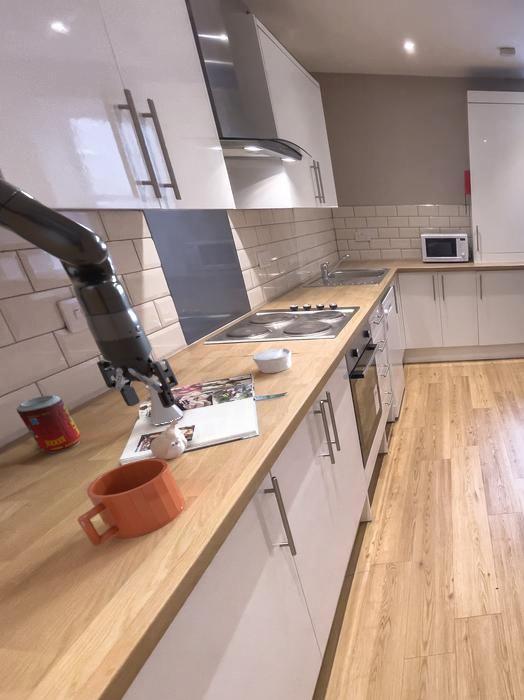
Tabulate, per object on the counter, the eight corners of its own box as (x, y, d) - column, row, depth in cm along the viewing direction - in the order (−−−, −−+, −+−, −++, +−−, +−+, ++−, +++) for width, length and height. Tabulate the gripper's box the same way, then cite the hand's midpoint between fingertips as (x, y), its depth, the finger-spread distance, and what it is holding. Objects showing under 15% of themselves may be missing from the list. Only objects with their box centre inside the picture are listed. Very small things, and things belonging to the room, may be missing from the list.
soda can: (41, 447, 97) (13, 401, 91) (82, 435, 102) (58, 390, 96) (43, 458, 92) (14, 411, 87) (85, 445, 97) (61, 399, 92)
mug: (149, 494, 81) (130, 457, 77) (199, 498, 80) (182, 460, 76) (70, 552, 68) (43, 510, 64) (128, 557, 67) (104, 515, 63)
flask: (153, 429, 103) (137, 394, 99) (148, 419, 108) (132, 385, 104) (187, 418, 108) (173, 384, 104) (181, 409, 113) (167, 376, 108)
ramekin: (299, 367, 139) (295, 353, 137) (263, 377, 132) (259, 362, 129) (287, 359, 146) (283, 345, 144) (252, 368, 139) (248, 354, 136)
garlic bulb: (193, 455, 93) (180, 425, 89) (158, 467, 89) (143, 436, 85) (188, 444, 97) (176, 414, 94) (154, 455, 93) (140, 425, 90)
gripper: (66, 338, 78) (105, 412, 85) (133, 340, 76) (166, 415, 83) (106, 326, 84) (138, 396, 91) (168, 327, 83) (196, 398, 90)
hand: (152, 405), depth 87 cm, fingers open, 8 cm apart
